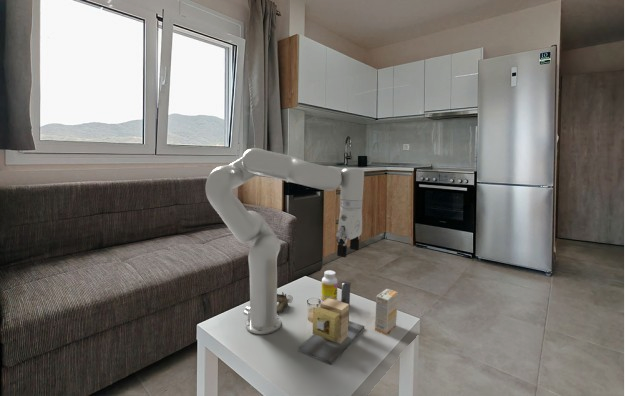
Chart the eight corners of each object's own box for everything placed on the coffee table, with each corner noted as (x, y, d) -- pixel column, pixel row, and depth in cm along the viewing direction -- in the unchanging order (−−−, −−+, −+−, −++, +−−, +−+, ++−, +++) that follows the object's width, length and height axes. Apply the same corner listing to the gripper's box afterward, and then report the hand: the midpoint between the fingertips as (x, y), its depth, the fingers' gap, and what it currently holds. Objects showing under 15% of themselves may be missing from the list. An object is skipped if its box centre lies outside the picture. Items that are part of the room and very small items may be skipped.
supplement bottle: (335, 306, 132) (336, 276, 130) (319, 304, 133) (320, 274, 132) (337, 298, 139) (338, 270, 137) (322, 297, 140) (323, 268, 138)
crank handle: (315, 341, 102) (316, 300, 100) (342, 317, 117) (344, 280, 115) (323, 345, 100) (325, 302, 98) (350, 320, 115) (351, 282, 113)
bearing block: (298, 350, 102) (299, 313, 100) (335, 318, 122) (336, 287, 120) (331, 364, 96) (332, 325, 94) (364, 328, 116) (366, 295, 114)
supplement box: (384, 321, 121) (386, 288, 119) (396, 325, 118) (398, 291, 116) (373, 330, 115) (375, 295, 113) (386, 335, 112) (388, 299, 110)
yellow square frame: (312, 333, 105) (313, 310, 103) (317, 329, 107) (318, 306, 106) (334, 341, 100) (335, 317, 99) (338, 337, 103) (339, 313, 102)
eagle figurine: (277, 298, 135) (263, 302, 127) (286, 286, 133) (272, 290, 125) (288, 312, 132) (274, 318, 124) (297, 300, 129) (284, 305, 122)
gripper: (349, 208, 100) (346, 261, 102) (371, 202, 114) (368, 249, 117) (328, 206, 104) (326, 257, 106) (352, 200, 118) (349, 245, 121)
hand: (348, 252), depth 112 cm, fingers open, 9 cm apart
